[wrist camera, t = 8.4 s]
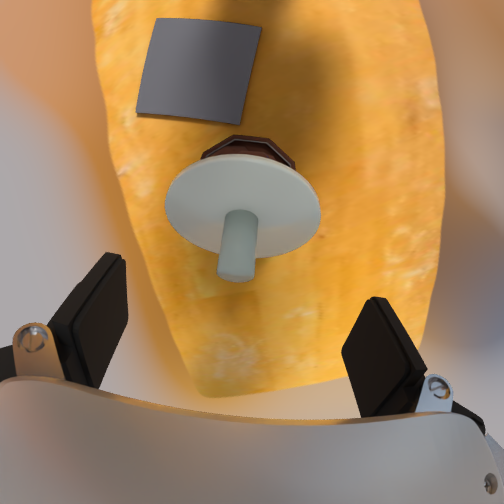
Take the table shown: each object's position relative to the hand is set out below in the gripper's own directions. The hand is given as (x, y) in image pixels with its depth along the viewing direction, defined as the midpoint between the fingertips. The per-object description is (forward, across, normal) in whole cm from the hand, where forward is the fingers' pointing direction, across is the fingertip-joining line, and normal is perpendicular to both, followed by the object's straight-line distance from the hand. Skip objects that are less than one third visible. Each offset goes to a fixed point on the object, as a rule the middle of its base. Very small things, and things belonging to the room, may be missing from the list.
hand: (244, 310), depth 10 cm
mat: (+30, +9, -12) cm, 33 cm away
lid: (+15, 0, +1) cm, 15 cm away
